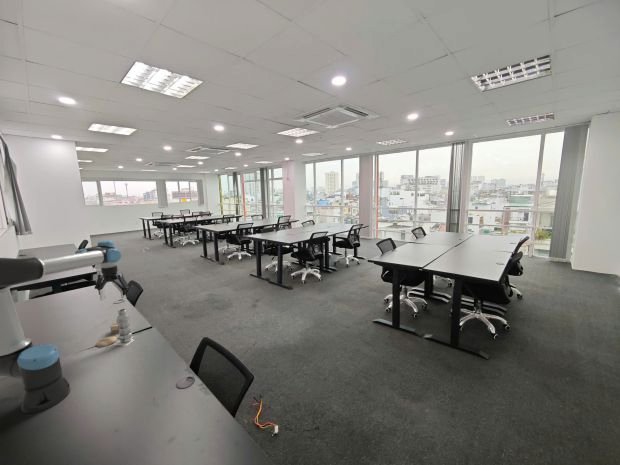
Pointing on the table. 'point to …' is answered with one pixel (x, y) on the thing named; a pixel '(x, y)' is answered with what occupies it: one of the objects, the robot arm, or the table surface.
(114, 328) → the oak block
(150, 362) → the table surface
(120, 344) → the card
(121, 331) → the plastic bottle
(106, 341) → the cork coaster
